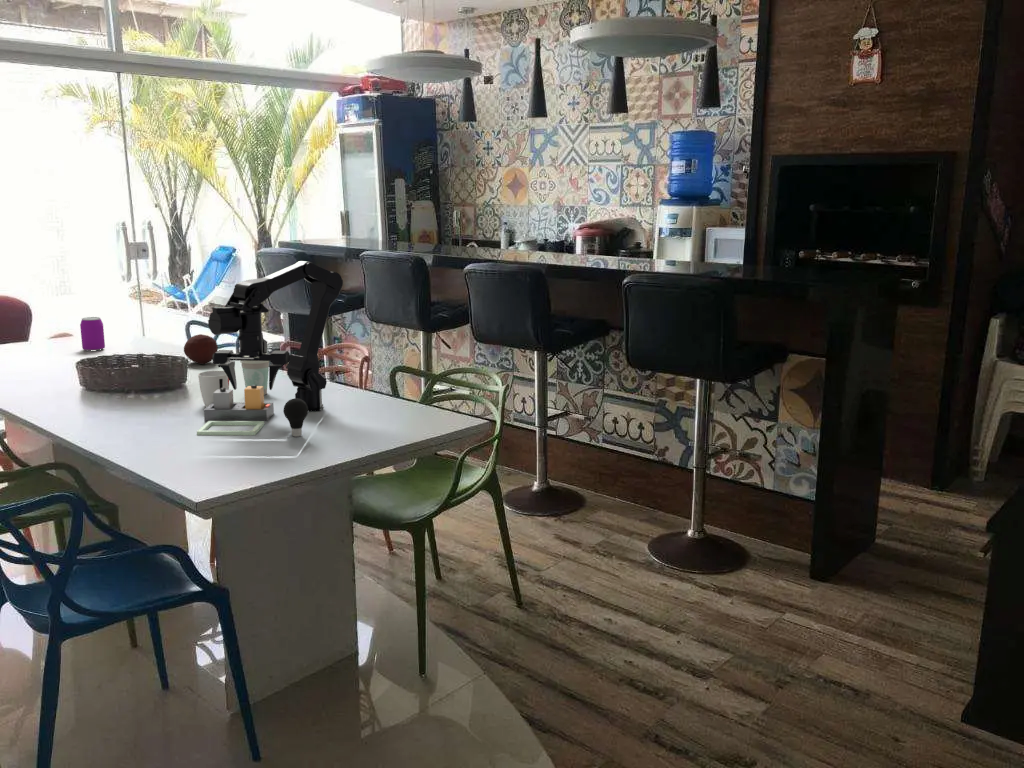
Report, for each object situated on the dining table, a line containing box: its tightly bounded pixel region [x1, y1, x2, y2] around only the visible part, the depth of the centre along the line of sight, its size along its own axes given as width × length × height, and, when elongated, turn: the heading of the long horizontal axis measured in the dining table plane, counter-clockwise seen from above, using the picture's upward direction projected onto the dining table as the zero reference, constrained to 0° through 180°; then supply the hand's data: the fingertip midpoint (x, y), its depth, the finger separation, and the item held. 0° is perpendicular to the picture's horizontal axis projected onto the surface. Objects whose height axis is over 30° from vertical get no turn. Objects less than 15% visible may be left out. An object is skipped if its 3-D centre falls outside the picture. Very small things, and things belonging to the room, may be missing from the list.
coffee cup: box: [239, 352, 270, 396], centre depth 254 cm, size 8×9×12 cm
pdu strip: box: [203, 401, 275, 422], centre depth 225 cm, size 16×8×4 cm, turn 93°
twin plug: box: [213, 388, 234, 409], centre depth 224 cm, size 4×4×8 cm
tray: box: [196, 421, 265, 436], centre depth 214 cm, size 14×10×2 cm
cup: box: [197, 370, 230, 408], centre depth 237 cm, size 8×8×10 cm
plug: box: [243, 385, 265, 409], centre depth 225 cm, size 4×4×9 cm
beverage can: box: [79, 316, 106, 352], centre depth 319 cm, size 8×8×12 cm
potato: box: [183, 334, 219, 365], centre depth 298 cm, size 11×13×10 cm
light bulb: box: [283, 398, 309, 438], centre depth 210 cm, size 6×6×10 cm
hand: (253, 389), depth 224 cm, fingers open, 9 cm apart
